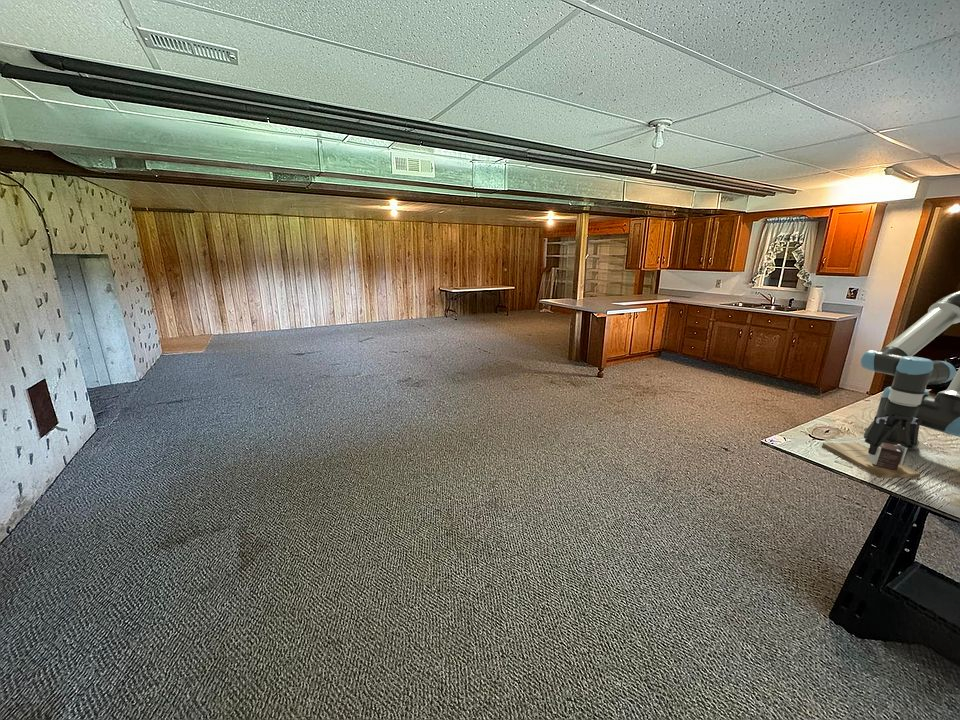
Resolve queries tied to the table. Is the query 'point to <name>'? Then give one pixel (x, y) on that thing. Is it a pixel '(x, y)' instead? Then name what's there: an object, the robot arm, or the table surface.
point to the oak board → (859, 457)
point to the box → (889, 456)
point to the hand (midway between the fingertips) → (884, 462)
